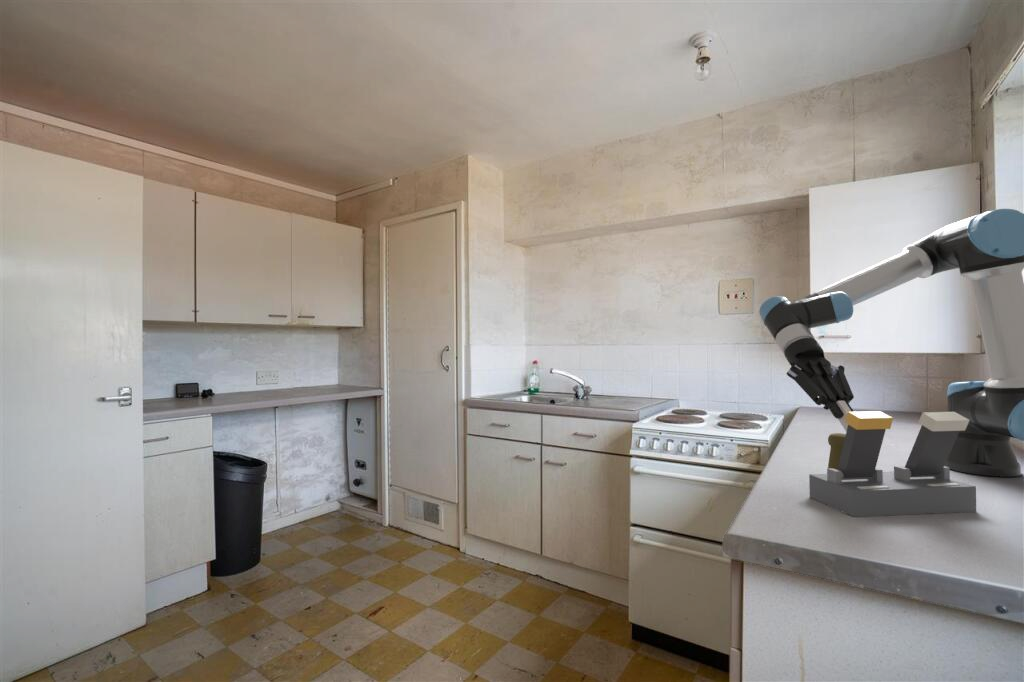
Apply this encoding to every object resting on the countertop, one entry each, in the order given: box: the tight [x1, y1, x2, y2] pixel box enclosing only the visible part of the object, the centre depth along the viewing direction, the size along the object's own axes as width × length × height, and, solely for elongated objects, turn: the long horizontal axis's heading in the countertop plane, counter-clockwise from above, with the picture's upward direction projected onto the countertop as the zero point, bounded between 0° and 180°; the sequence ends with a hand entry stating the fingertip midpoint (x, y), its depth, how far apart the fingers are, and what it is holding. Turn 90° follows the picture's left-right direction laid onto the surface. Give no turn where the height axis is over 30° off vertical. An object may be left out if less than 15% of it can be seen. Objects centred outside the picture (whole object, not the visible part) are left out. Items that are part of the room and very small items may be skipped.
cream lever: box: [904, 411, 970, 478], centre depth 97 cm, size 3×7×15 cm, turn 95°
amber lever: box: [837, 410, 894, 480], centre depth 97 cm, size 3×7×15 cm, turn 95°
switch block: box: [808, 465, 977, 517], centre depth 99 cm, size 26×12×8 cm, turn 95°
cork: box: [827, 432, 846, 470], centre depth 119 cm, size 6×6×11 cm
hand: (854, 429), depth 98 cm, fingers closed
